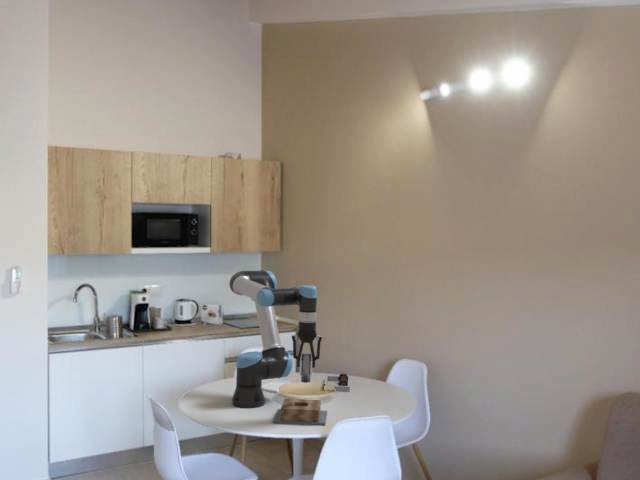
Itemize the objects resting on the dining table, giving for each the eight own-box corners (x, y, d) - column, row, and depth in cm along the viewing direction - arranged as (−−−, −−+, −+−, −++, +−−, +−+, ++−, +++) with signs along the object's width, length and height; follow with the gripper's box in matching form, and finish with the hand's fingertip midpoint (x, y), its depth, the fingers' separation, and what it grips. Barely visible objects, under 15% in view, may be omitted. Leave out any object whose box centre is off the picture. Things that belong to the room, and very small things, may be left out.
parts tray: (323, 390, 340) (323, 385, 340) (325, 380, 362) (325, 375, 362) (349, 391, 339) (349, 386, 339) (350, 381, 361) (350, 376, 361)
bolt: (341, 393, 343) (341, 385, 358) (350, 388, 343) (350, 380, 358) (336, 383, 343) (336, 375, 358) (345, 379, 342) (344, 371, 357)
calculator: (255, 390, 339) (255, 386, 339) (278, 382, 356) (278, 378, 356) (277, 394, 332) (277, 390, 332) (299, 386, 349) (299, 382, 349)
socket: (273, 423, 284) (273, 409, 284) (278, 410, 302) (278, 397, 302) (325, 425, 283) (325, 411, 283) (327, 413, 301) (327, 399, 301)
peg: (300, 382, 292) (301, 354, 292) (301, 380, 296) (302, 353, 296) (310, 382, 292) (310, 355, 291) (310, 380, 296) (311, 353, 295)
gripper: (287, 322, 289) (285, 376, 290) (326, 323, 289) (325, 377, 290) (288, 319, 297) (287, 372, 298) (327, 320, 296) (325, 373, 297)
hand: (305, 374), depth 294 cm, fingers closed on peg, 4 cm apart
